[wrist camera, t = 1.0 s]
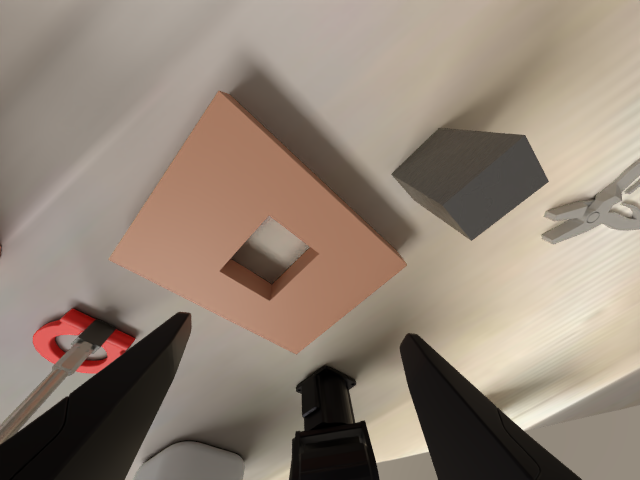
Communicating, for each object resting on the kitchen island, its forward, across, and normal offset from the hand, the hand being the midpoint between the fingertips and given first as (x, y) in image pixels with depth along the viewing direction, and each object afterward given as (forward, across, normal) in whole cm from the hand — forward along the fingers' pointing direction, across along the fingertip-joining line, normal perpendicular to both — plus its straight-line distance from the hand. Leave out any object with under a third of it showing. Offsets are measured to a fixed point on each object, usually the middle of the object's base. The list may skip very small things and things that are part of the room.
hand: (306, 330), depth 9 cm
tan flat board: (+13, +2, +4) cm, 14 cm away
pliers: (+14, -31, -8) cm, 35 cm away
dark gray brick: (+13, -10, -6) cm, 18 cm away
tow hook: (+13, +20, +20) cm, 32 cm away
